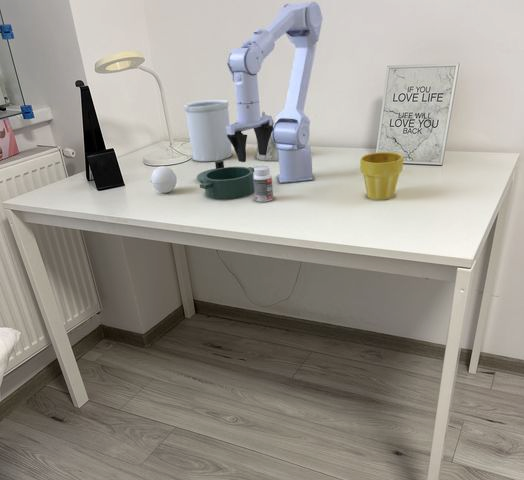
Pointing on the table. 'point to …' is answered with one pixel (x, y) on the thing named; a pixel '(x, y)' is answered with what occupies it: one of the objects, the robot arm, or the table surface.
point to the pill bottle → (263, 184)
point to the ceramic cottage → (269, 149)
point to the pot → (228, 183)
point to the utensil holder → (208, 129)
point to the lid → (218, 165)
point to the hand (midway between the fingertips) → (252, 158)
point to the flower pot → (381, 173)
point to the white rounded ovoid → (163, 179)
